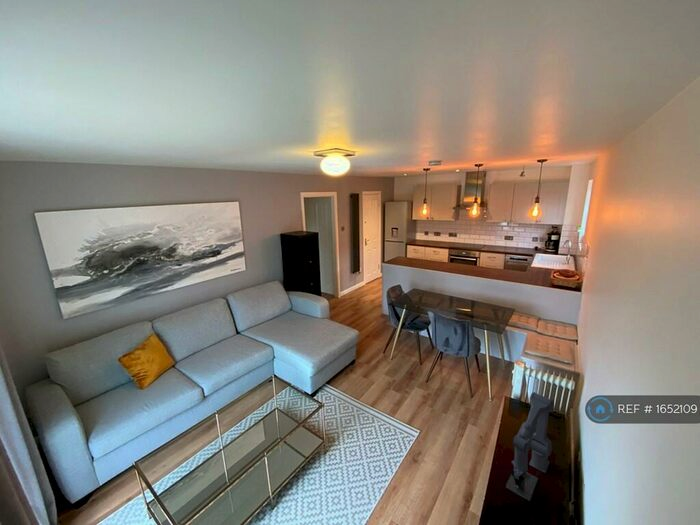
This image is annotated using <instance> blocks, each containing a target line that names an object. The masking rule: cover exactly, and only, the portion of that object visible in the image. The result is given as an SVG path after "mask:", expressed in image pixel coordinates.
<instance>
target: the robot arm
mask: <svg viewBox="0 0 700 525" xmlns="http://www.w3.org/2000/svg"><path fill="white" fill-rule="evenodd" d="M529 406H530V409H529V412H528V416H527V418H526V421H523V422H522V424H521V426H520V428H519V431H518V433H517V434H515V435H514V436H513V439H512V445H513V449H514V460H513V459H512V460H511V465H513V469H514V471H513V470H512V471H511V473H510V475H511V474H512V476H513V477H514V480H515V484H516V485H517V486H519V487H520V486H521V483H522V481H523V480H524V478H525V477H523V476H521V475H522V474H523V473H525V474H526V472H528V470H529V468H530V467H533V468H535V469H537V470H538V471H541V472H543V473H546V472H547V470H548V467H549V465H550V461H549V460H548V457H550V456H551V454H552V451H553V446H552V441H551V440H550V439H549V437H548V436H547V432H548V428H547V425H548V426H549V424H548V422H549V414H550V413H553V412H554V408H555V401H554V400H553V399H551V398H549V397H545V395H542V394H539V393H537V392H535V391H533V392H532V393H531V394H530V396H529ZM536 421H537V427H536V432H535V428H534V426H535V423H536ZM530 450H531V459H530V461H529V462H528V460H529V458H528V457H529V451H530Z"/></svg>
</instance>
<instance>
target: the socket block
mask: <svg viewBox="0 0 700 525" xmlns="http://www.w3.org/2000/svg"><path fill="white" fill-rule="evenodd" d="M513 471H514V468H513ZM525 475H526V480H525V488H524V490H520V489H518V488H517V487H516V484H515V480H514V477H513V476H512V474H511V473H510V476H509V478H508V480H507V482H506V485H505V488H506V489H508V490H510V491H511V492H512V493H514V494H516V495H518V496H519V497H522V498H523V499H524V500H526V501H528V502H531V500H532V497H533V494H534V492H535V488H536V486H537V483H538V481H539V478H538V477H537V476H536V475H533V474H531V473H529V472H528V471H526V474H525Z"/></svg>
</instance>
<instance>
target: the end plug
mask: <svg viewBox="0 0 700 525" xmlns="http://www.w3.org/2000/svg"><path fill="white" fill-rule="evenodd" d="M521 476H523V477H525V478H524V480H523V481H522V483H521V486H520V487H519V486H517V485H516V487H517V488H518V489H520V490H524V488H525V480H526V475H525V473H523V474H522V475H521Z"/></svg>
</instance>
